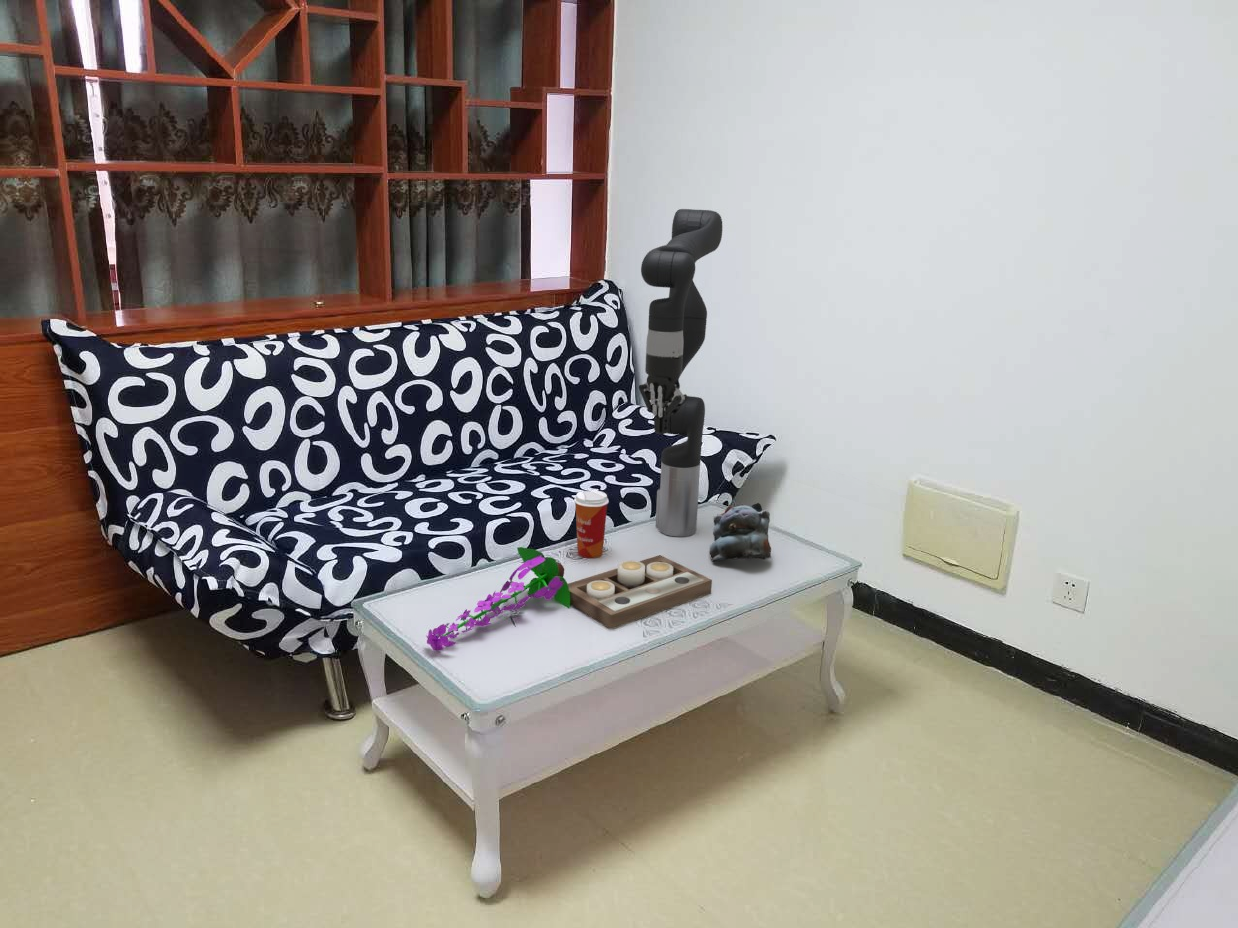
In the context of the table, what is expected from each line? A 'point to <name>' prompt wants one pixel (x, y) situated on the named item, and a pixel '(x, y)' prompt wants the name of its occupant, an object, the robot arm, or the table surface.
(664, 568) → the button
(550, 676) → the table surface
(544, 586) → the purple flower sprig
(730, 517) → the lucky cat figurine
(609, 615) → the wooden candle tray
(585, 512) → the paper cup
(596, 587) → the button
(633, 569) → the button mid
